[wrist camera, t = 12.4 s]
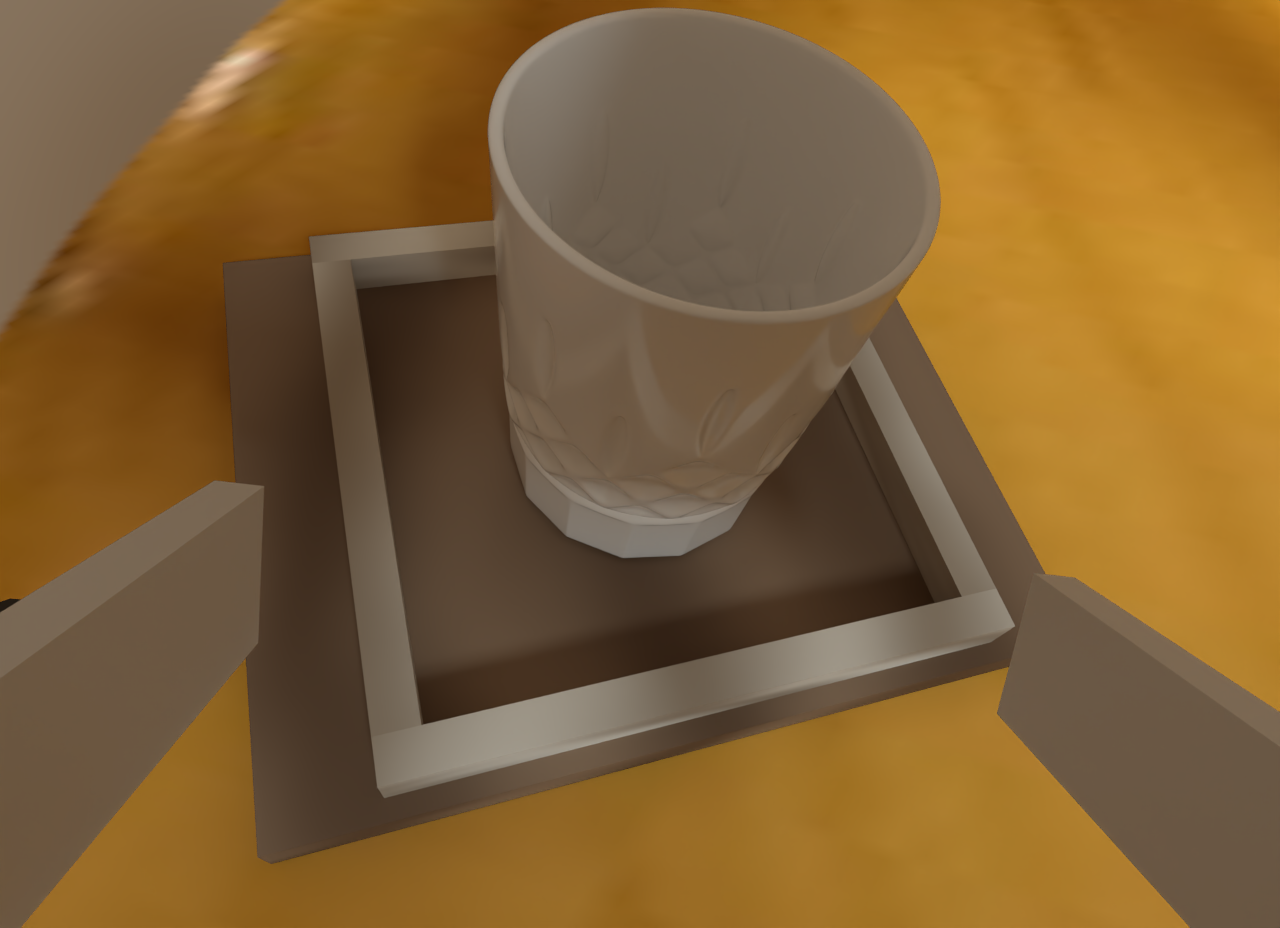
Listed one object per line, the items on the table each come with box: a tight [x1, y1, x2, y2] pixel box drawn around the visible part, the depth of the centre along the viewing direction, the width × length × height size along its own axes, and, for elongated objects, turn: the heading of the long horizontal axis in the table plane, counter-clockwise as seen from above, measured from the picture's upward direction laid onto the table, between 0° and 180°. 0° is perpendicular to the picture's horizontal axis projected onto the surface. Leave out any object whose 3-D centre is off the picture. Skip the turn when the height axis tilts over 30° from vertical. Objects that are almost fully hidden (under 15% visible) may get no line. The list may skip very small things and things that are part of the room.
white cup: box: [488, 8, 941, 558], centre depth 19 cm, size 8×8×10 cm
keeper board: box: [223, 220, 1045, 864], centre depth 23 cm, size 20×16×2 cm
